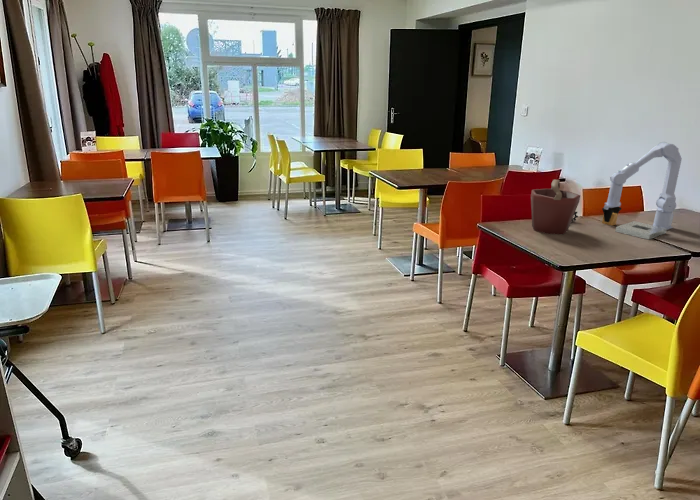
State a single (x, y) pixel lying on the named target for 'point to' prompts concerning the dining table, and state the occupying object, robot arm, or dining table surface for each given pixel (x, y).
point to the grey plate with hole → (641, 230)
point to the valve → (575, 216)
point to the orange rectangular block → (611, 219)
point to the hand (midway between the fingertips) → (609, 220)
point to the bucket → (553, 209)
